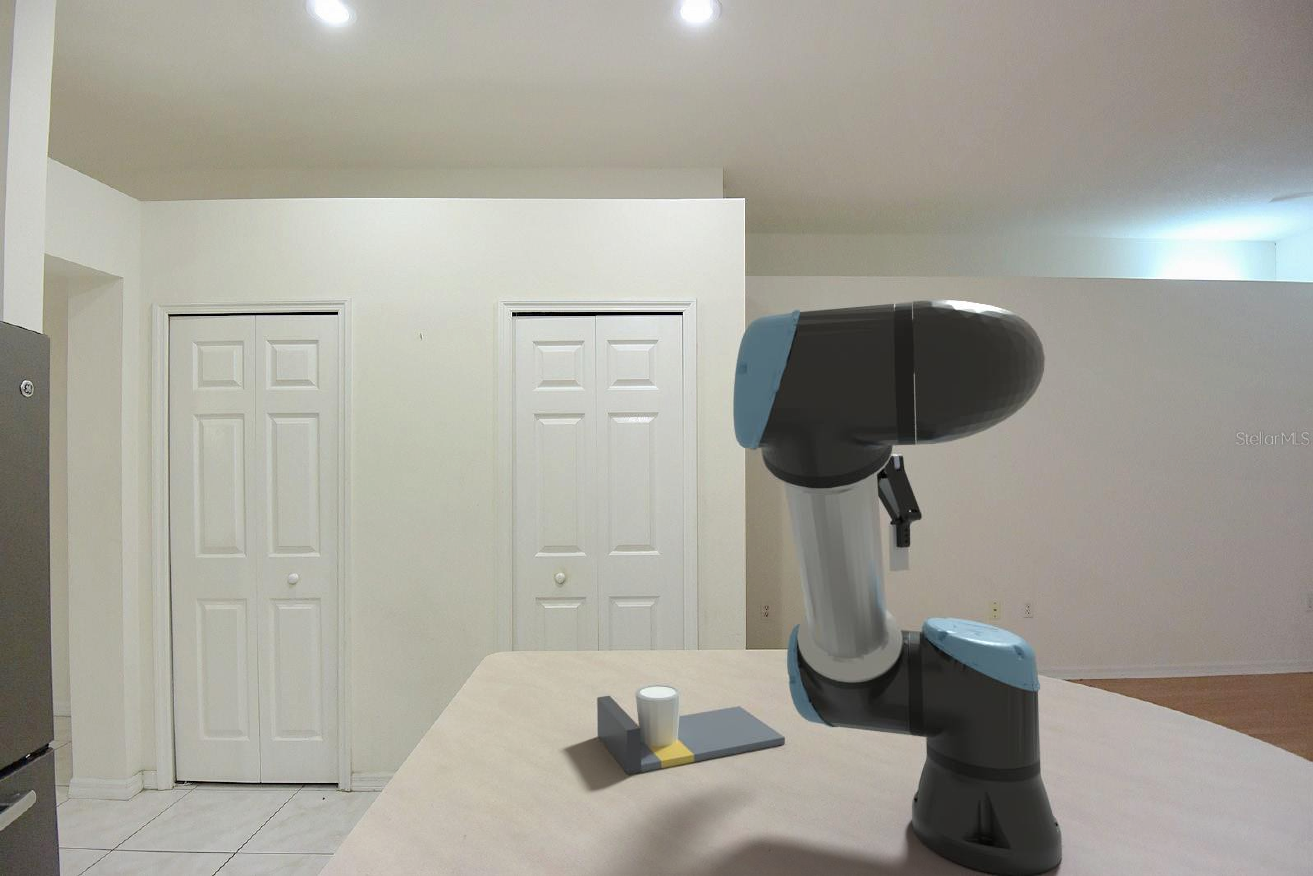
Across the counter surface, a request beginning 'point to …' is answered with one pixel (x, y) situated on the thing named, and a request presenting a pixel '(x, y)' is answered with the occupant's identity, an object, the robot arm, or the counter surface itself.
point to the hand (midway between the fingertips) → (867, 564)
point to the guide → (682, 737)
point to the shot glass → (658, 714)
